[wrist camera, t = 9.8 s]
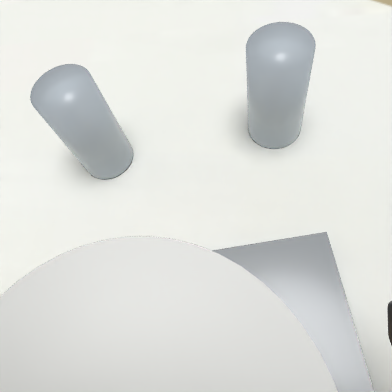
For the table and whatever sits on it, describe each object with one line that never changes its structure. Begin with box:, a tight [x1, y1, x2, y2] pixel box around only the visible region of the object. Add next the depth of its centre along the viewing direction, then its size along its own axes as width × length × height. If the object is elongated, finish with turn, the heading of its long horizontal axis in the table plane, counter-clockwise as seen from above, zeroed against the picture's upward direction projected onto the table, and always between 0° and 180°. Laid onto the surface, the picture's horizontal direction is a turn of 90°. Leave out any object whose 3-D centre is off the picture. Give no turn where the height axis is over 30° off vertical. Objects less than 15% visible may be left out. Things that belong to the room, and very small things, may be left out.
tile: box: [213, 232, 374, 392], centre depth 16 cm, size 12×12×1 cm
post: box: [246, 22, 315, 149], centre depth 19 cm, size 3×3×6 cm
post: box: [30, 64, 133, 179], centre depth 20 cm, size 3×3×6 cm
